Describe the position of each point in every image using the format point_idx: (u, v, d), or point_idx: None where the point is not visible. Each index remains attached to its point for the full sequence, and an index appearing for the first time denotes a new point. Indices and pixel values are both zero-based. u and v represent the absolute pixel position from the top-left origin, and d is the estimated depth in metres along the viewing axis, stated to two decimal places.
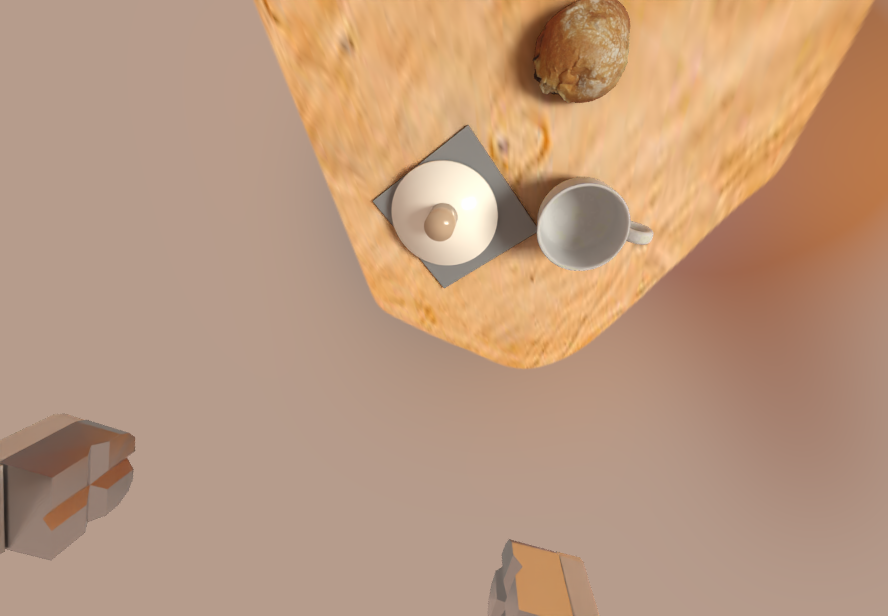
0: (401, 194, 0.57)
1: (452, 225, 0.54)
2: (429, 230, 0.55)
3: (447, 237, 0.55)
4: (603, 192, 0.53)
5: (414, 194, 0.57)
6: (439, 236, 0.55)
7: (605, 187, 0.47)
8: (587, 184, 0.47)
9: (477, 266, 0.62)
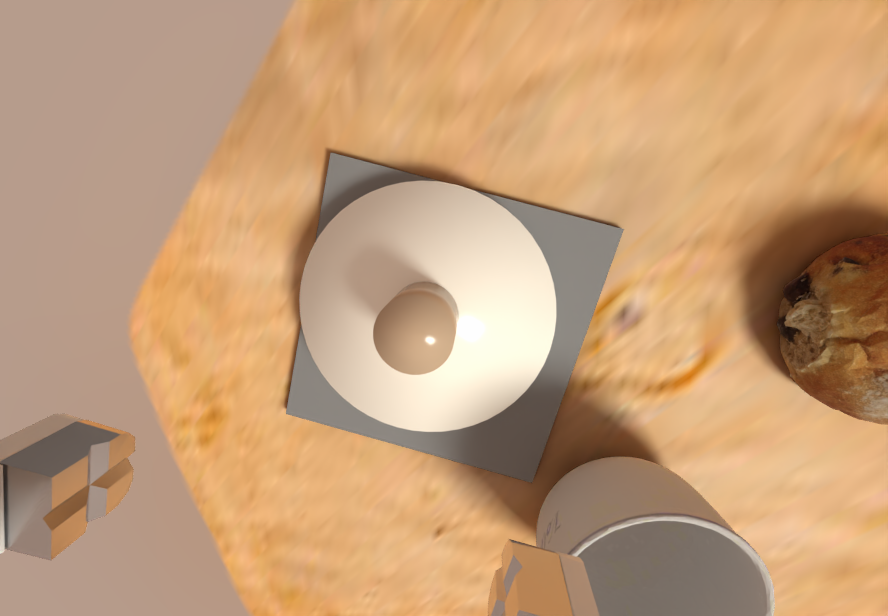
0: (398, 201, 0.23)
1: (441, 360, 0.20)
2: (388, 322, 0.20)
3: (406, 369, 0.21)
4: (683, 531, 0.26)
5: (421, 227, 0.23)
6: (394, 352, 0.20)
7: (770, 586, 0.20)
8: (753, 554, 0.19)
9: (380, 436, 0.28)
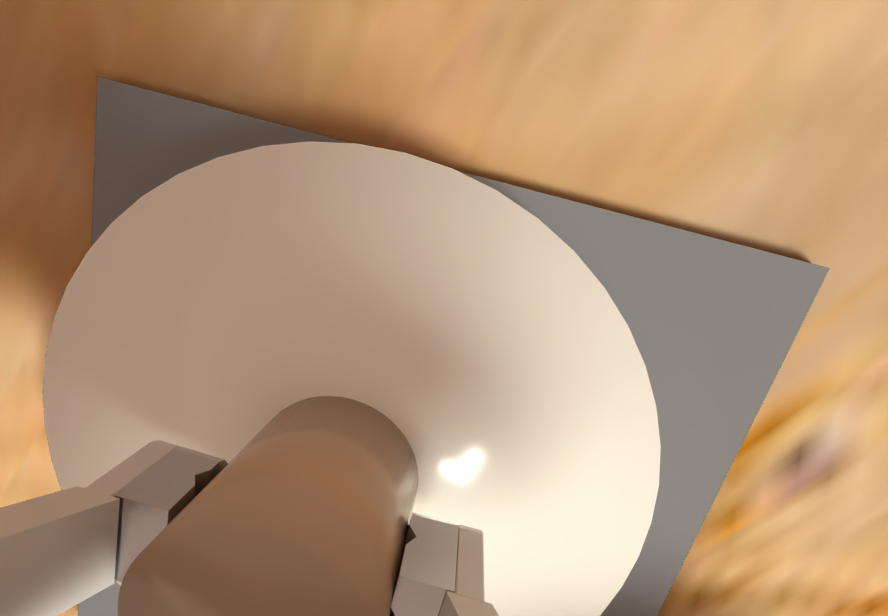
0: (254, 197, 0.09)
1: None
2: (163, 595, 0.06)
3: None
4: None
5: (316, 264, 0.09)
6: None
7: None
8: None
9: None
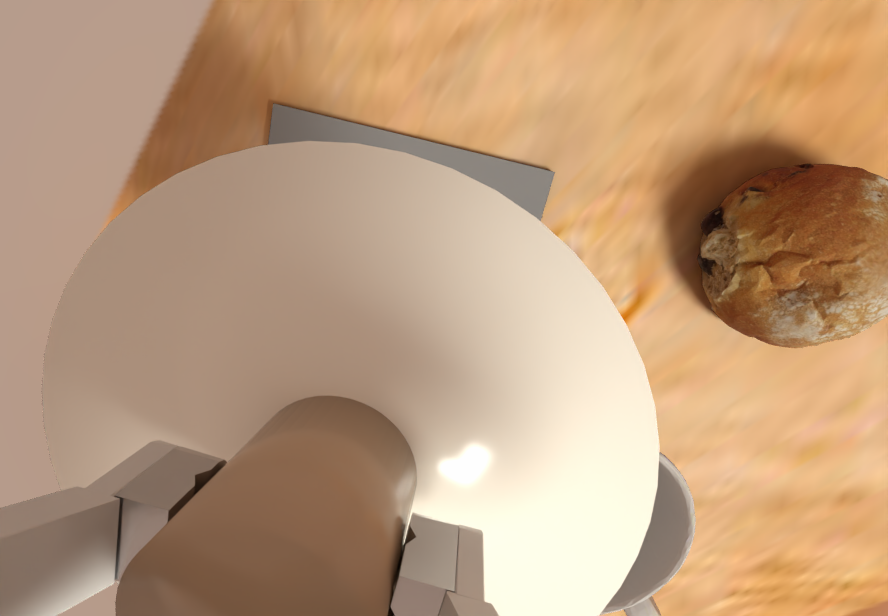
0: (253, 197, 0.09)
1: None
2: (161, 595, 0.06)
3: None
4: None
5: (315, 264, 0.09)
6: None
7: (690, 499, 0.21)
8: (672, 467, 0.20)
9: None
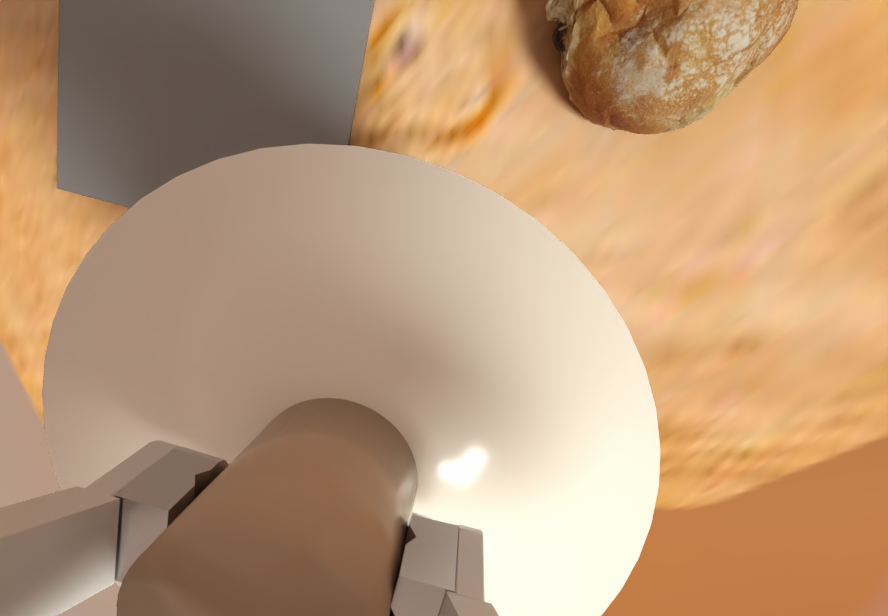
0: (254, 199, 0.09)
1: None
2: (163, 599, 0.06)
3: None
4: None
5: (316, 266, 0.09)
6: None
7: None
8: None
9: None
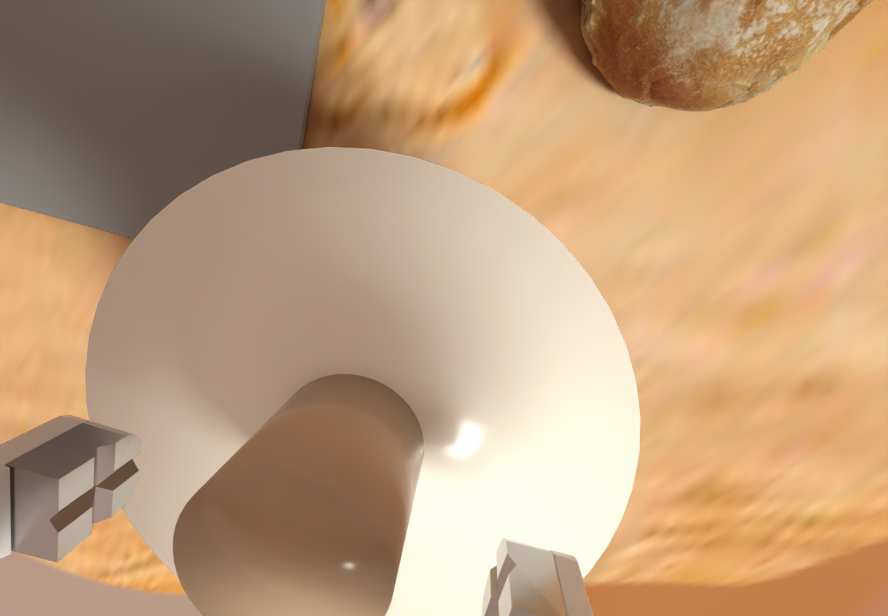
0: (280, 196, 0.10)
1: None
2: (212, 532, 0.07)
3: None
4: None
5: (334, 256, 0.10)
6: (235, 604, 0.08)
7: None
8: None
9: (66, 214, 0.19)
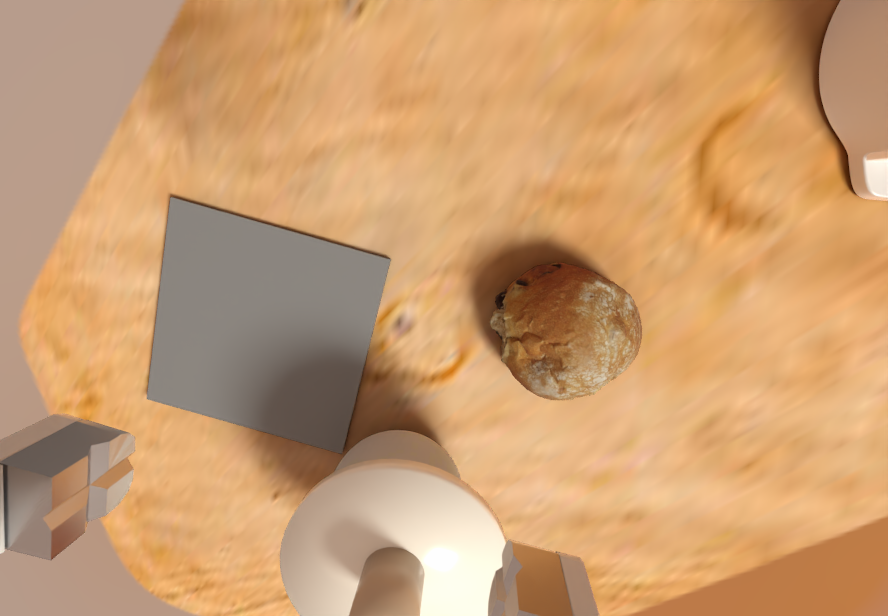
0: (371, 484, 0.25)
1: None
2: None
3: None
4: None
5: (391, 505, 0.26)
6: None
7: None
8: None
9: (222, 417, 0.35)
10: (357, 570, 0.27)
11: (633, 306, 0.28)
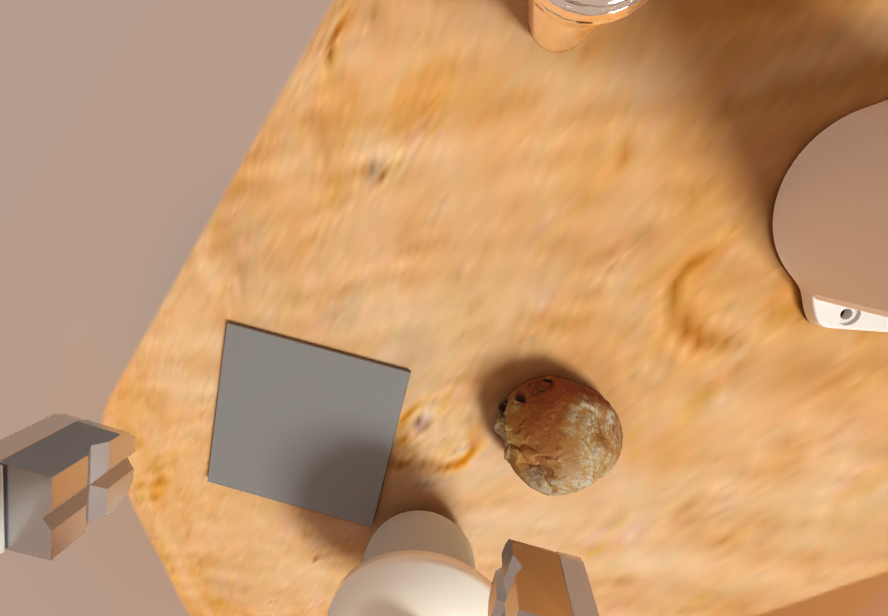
0: (397, 574, 0.31)
1: None
2: None
3: None
4: None
5: (414, 589, 0.31)
6: None
7: None
8: None
9: (270, 496, 0.41)
10: None
11: (614, 419, 0.33)
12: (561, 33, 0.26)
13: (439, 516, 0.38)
